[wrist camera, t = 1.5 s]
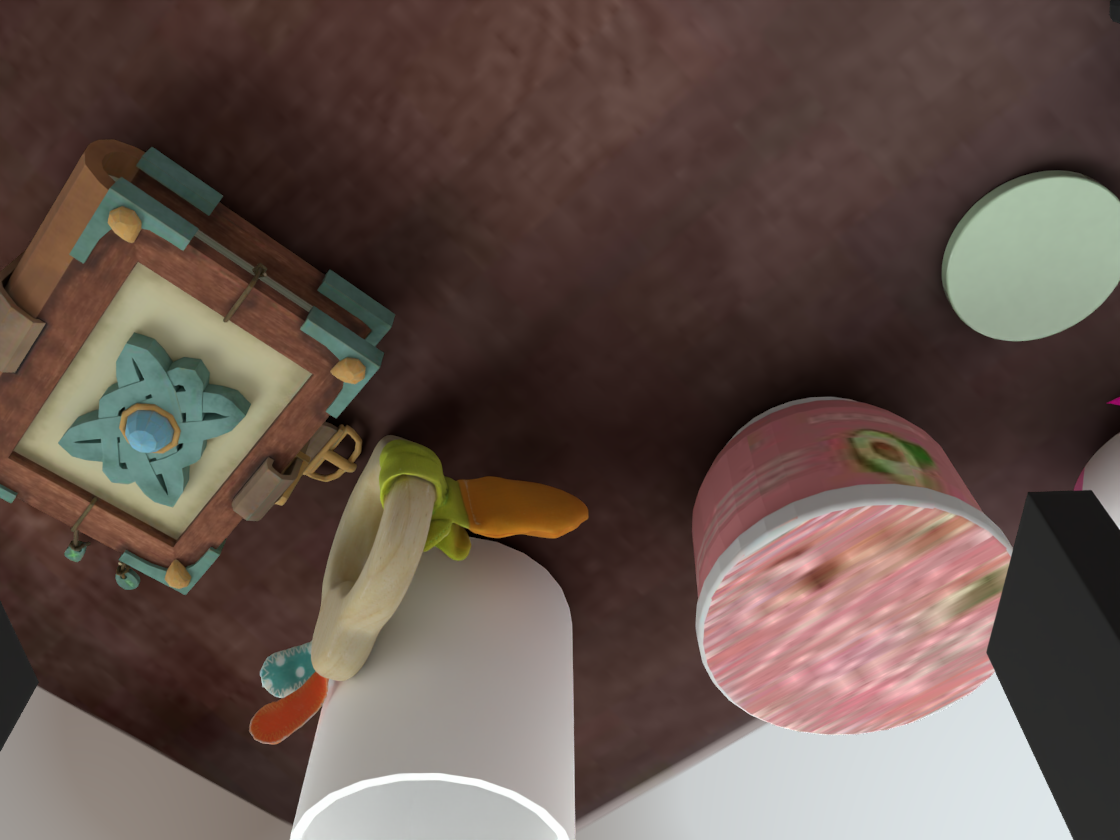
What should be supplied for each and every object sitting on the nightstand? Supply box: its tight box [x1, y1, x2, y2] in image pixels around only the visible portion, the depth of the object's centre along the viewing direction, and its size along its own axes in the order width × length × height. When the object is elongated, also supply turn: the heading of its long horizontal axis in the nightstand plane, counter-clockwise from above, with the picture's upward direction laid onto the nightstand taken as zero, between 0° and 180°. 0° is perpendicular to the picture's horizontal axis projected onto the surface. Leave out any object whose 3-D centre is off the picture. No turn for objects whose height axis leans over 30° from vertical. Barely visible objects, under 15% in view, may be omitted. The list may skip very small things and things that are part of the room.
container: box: [692, 397, 1013, 735], centre depth 36 cm, size 10×10×8 cm
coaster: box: [942, 170, 1120, 341], centre depth 34 cm, size 6×6×1 cm
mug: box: [290, 537, 575, 840], centre depth 39 cm, size 10×12×12 cm
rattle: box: [249, 435, 588, 744], centre depth 38 cm, size 8×8×12 cm
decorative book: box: [0, 139, 395, 595], centre depth 36 cm, size 13×18×5 cm
